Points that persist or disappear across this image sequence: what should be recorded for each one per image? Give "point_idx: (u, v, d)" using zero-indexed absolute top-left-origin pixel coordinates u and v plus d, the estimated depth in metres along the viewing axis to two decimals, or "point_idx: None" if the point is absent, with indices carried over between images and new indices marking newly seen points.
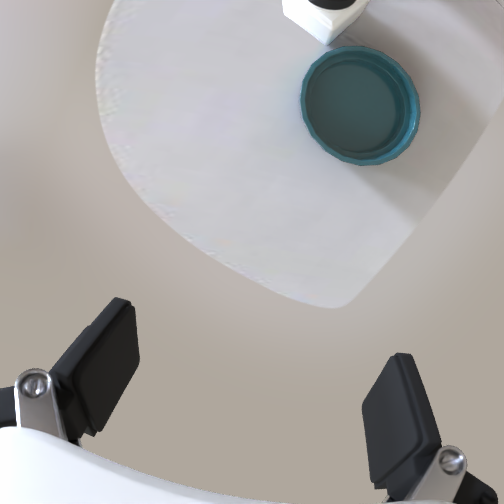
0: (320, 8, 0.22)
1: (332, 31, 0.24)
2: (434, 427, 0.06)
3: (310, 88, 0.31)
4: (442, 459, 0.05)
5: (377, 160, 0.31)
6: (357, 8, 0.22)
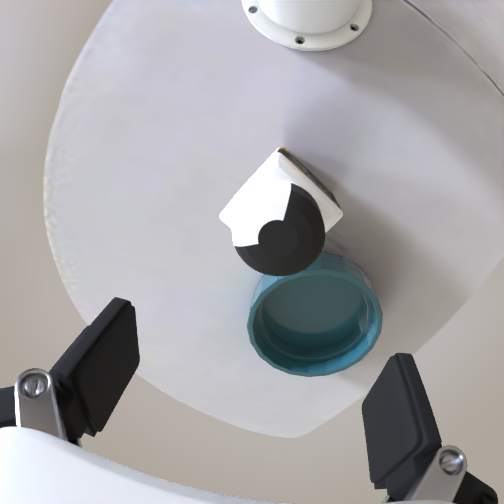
0: None
1: None
2: (434, 427, 0.06)
3: (261, 305, 0.32)
4: (442, 459, 0.05)
5: (325, 372, 0.33)
6: None
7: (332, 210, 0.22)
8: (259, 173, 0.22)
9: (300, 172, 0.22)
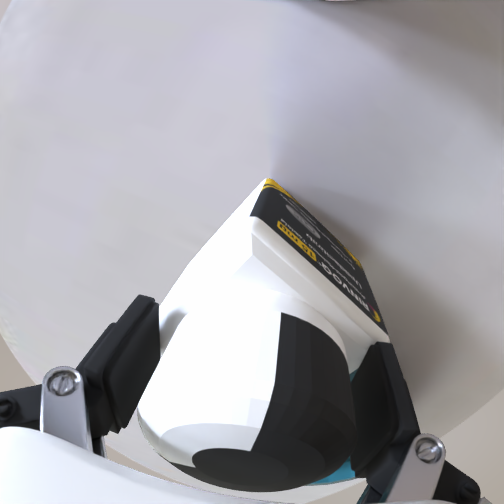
0: None
1: None
2: (411, 414, 0.06)
3: None
4: (419, 448, 0.06)
5: (327, 482, 0.20)
6: None
7: (370, 341, 0.10)
8: (209, 266, 0.10)
9: (306, 265, 0.09)
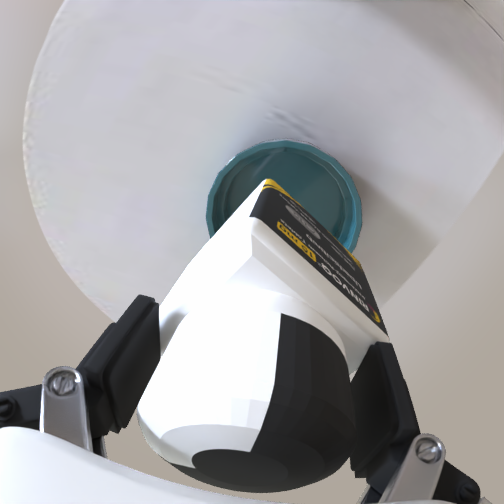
0: None
1: None
2: (411, 414, 0.07)
3: (223, 197, 0.29)
4: (418, 448, 0.06)
5: None
6: None
7: (370, 342, 0.10)
8: (208, 267, 0.10)
9: (306, 266, 0.09)
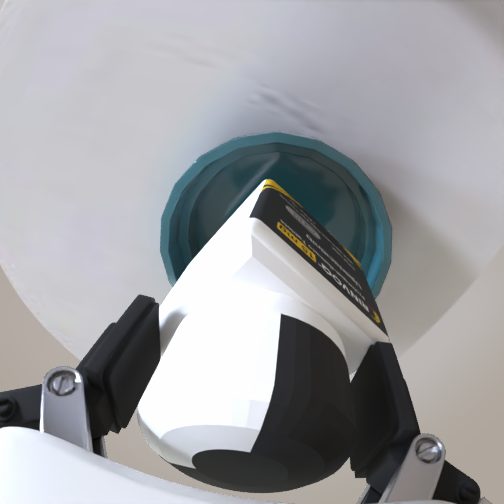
0: None
1: None
2: (411, 414, 0.06)
3: (186, 218, 0.20)
4: (418, 448, 0.06)
5: None
6: None
7: (370, 342, 0.10)
8: (209, 267, 0.10)
9: (306, 267, 0.09)
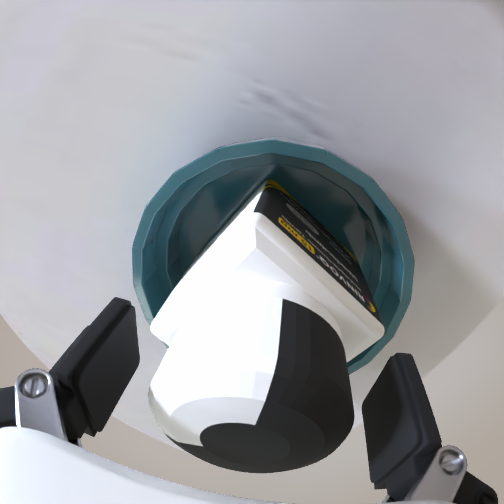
0: None
1: None
2: (434, 427, 0.06)
3: (164, 245, 0.16)
4: (442, 459, 0.05)
5: None
6: None
7: (366, 329, 0.11)
8: (216, 258, 0.10)
9: (305, 258, 0.10)
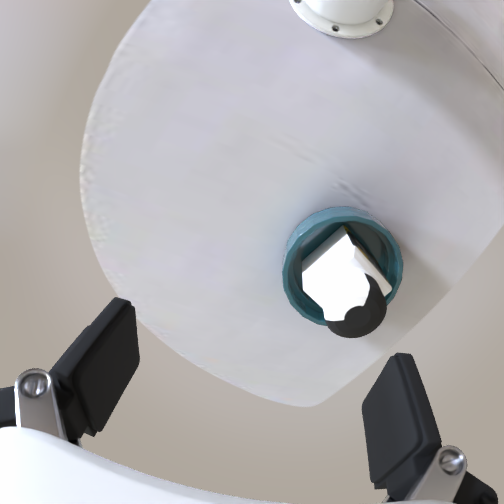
0: None
1: None
2: (434, 427, 0.06)
3: (294, 253, 0.35)
4: (442, 459, 0.05)
5: None
6: None
7: (385, 287, 0.30)
8: (339, 260, 0.29)
9: (367, 260, 0.29)
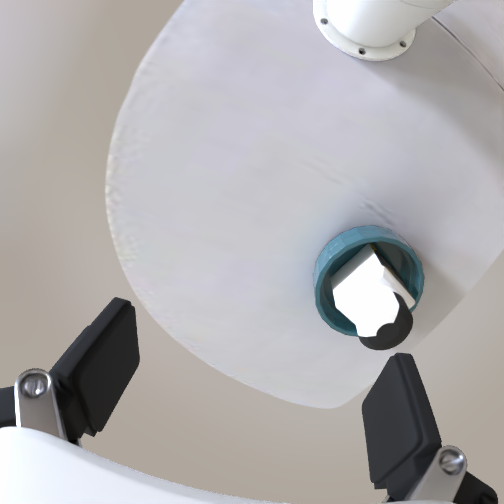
0: None
1: None
2: (434, 427, 0.06)
3: None
4: (442, 459, 0.05)
5: None
6: None
7: (409, 301, 0.31)
8: (369, 280, 0.31)
9: (394, 279, 0.30)
